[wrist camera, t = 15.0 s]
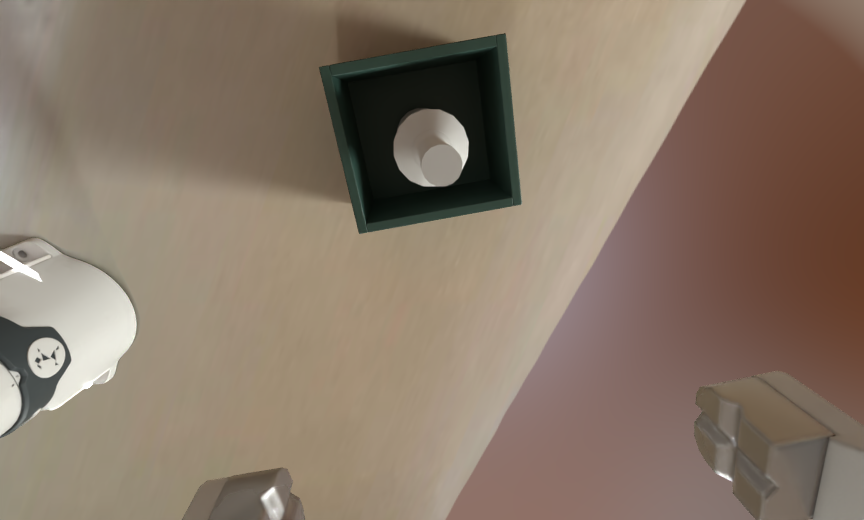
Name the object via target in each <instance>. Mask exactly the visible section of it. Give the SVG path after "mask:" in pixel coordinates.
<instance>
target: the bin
mask: <svg viewBox="0 0 864 520" xmlns="http://www.w3.org/2000/svg"><path fill="white" fill-rule="evenodd" d="M319 70H320V74H321V78H322V82H323V86H324V90H325V94H326V99H327V103H328V107H329V111H330V115H331V119H332V124H333V128H334V132H335V136H336V140H337V144H338V148H339V153H340V157H341V161H342V165H343V169H344V173H345V177H346V182H347V186H348V190H349V194H350V198H351V202H352V206H353V211H354V215H355V219H356V223H357V227H358V231H359V234H362V233H367V232H373V231H379V230H384V229H390V228H395V227H401V226H406V225H412V224H417V223H423V222H428V221H434V220H439V219H445V218H450V217H456V216H461V215H467V214H472V213H478V212H483V211H489V210H494V209H500V208H505V207H511V206H516V205H521V204H522V200H521V190H520V179H519V169H518V158H517V147H516V137H515V126H514V116H513V105H512V95H511V84H510V74H509V63H508V53H507V42H506V34H505V33H504V34H499V35H496V36H495V35H493V36H488V37H482V38H477V39H471V40H466V41H460V42H454V43H449V44H443V45H438V46H432V47H427V48H421V49H416V50H410V51H405V52H399V53H394V54H388V55H383V56H377V57H371V58H366V59H360V60H355V61H349V62H344V63H338V64H333V65H327V66H322V67H319ZM416 108H428V109H440V110H442V111H444V112H446V113H448V114H450V115H452V116H454V117H455V118H456V119H457V120H458V122H459V123H460V124H461V125H462V126H463V127H464V130H465V133H466V136H467V138H468V141H469V146H468V158H467V160H466V163H465V165H464V167H463V169H462V172H461V174H460V176H459V178H458V179H457V180H456V181H455V182H454V183H453V184H450V185H448V186H421V185H419V184H417V183H414V182H412V181H410V180H409V179H408V178H407V177H406V176H405V175H404V174H403V173H402V172H401V171H400V170H399V168H398V165H397V163H396V160H395V158H394V139H395V136H396V133H397V128H398V125H399V123H400V120H401V119H402V118H403V117H404V116H405V115H406V113H407V112H409V111H411V110H414V109H416Z"/></svg>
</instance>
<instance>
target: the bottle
mask: <svg viewBox="0 0 864 520" xmlns="http://www.w3.org/2000/svg"><path fill="white" fill-rule="evenodd" d="M468 146H469V141H468V138H467V136H466V133H465V130H464V127H463V126H462V125H461V124H460V123H459V122H458V120H457V119H456V118H455V117H454V116H452V115H450V114H448V113H446V112H444V111H442V110H440V109H428V108H416V109H414V110H411V111H409V112H407V113H406V115H405V116H404V117H403V118H402V119H401V120H400V123H399V125H398V128H397V133H396V136H395V139H394V158H395V160H396V163H397V165H398V168H399V170H400V171H401V172H402V173H403V174H404V175H405V176H406V177H407V178H408V179H409V180H410V181H412V182H414V183H417V184H419V185H421V186H448V185H450V184H453V183H454V182H455V181H456V180H457V179H458V178H459V176H460V174H461V172H462V169H463V167H464V165H465V163H466V160H467V158H468Z"/></svg>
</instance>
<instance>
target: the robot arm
mask: <svg viewBox="0 0 864 520" xmlns="http://www.w3.org/2000/svg"><path fill="white" fill-rule="evenodd" d="M24 252H26V254H27V255H26V254H25V253H24ZM136 327H137V323H136V315H135V311H134V308H133V306H132V304H131V302H130V300H129V298H128V296H127V295H126V293H125V292H124V291H123V289H122V288H121V287H120V286H119V285H118V284H117V283H116V282H115V281H114V280H113V279H112V278H111V277H110V276H108V275H107V274H106V273H104V272H103V271H101V270H100V269H98V268H96V267H94V266H92V265H90V264H88V263H86V262H83V261H80V260H77V259H74V258H72V257H69V256H66V255H64V254H62V253H61V252H59V251H58V250H57V249H55V248H54V247H53V246H51V245H50V244H48V243H47V242H45V241H43V240H41V239H39V238H29V239H26V240H24V241H21V242H19V243H17V244H14V245H12V246H9V247H7V248H4V249H2V250H0V438H1V437H4V436H6V435H8V434H10V433H12V432H13V431H15V430H16V429H17V428H19V427H20V426H22V425H24V424H25V423H27V422H28V421H29V420H31V419H32V418H33V417H34V416H35V415H36V414H37V413H38V412H39V411H41V410H54V409H56V408H58V407H60V406H61V405H63V404H64V403H65V402H67V401H68V400H69V399H71V398H72V397H73V396H75V395H76V394H77V393H79V392H80V391H81V390H83V389H84V388H88V387H90V386H91V385H92V384H103V383H106V382H107V381H108V380H110V379H111V378H112V377H113V376H114V374H115V371H116V367H117V362H118V360H119V359H120V357H121V356H122V355H123V354H124V353H125V352H126V351H127V350H128V349H129V347H130V346H131V344H132V342H133V340H134V338H135V334H136ZM696 405H697V406H698V407H699V408H700V409H701V410H702V413H701V414H700V415H699V417H698V418H697V419H696V421H695V422H694V436H695V439H696V442H697V445H698V448H699V451H700V452H701V454H702V456H703V458H704V459H705V461H706V462H707V463H708V465H709V466H710V467H711V468H712V470H713V471H714V472H715V473H717V474H719V475H721V476H723V477H724V478H726V479H729V480H730V481H732V487H733V494H734V495H735V496H736V498H737V499H738V500H739V501H740V502H741V503H742V505H743V506H744V507H745V508H746V509H747V510H748V511H749V513H750V514H751V515H752V516H753V517H754V518H755V519H756V520H810V519H813V520H864V426H863V425H862V424H860V423H859V422H857V421H856V420H854V419H853V418H852V417H850V416H848V415H847V414H846V413H844V412H843V411H841V410H840V409H838V408H837V407H835V406H834V405H833V404H831V403H829V402H828V401H827V400H825V399H824V398H822V397H821V396H820V395H818V394H816V393H815V392H814V391H812V390H811V389H809V388H808V387H806V386H805V385H803V384H802V383H801V382H799V381H798V380H796V379H795V378H793V377H792V376H790V375H789V374H787V373H784V372H780V371H775V372H770V373H765V374H760V375H755V376H752V377H747V378H742V379H737V380H732V381H727V382H722V383H717V384H712V385H707V386H702V387H700V388H699V390H698V391H697V393H696ZM292 483H293V480H292V478H291V476H290V474H289V472H288V469H286V468H277V469H271V470H265V471H259V472H252V473H246V474H240V475H234V476H232V477H227V478H220V479H214V480H208V481H206V482H205V483H204V484H202V485H201V486H200V487H199V489H198V490H197V492H196V494H195V496H194V498H193V500H192V502H191V504H190V505H189V507H188V509H187V511H186V513H185V515H184V517H183V519H182V520H305V516H304V510H303V506H302V503H301V501H300V498H298V497H297V496H295V495H294V494H292V493H291V492H290V490H291V486H292Z"/></svg>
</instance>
